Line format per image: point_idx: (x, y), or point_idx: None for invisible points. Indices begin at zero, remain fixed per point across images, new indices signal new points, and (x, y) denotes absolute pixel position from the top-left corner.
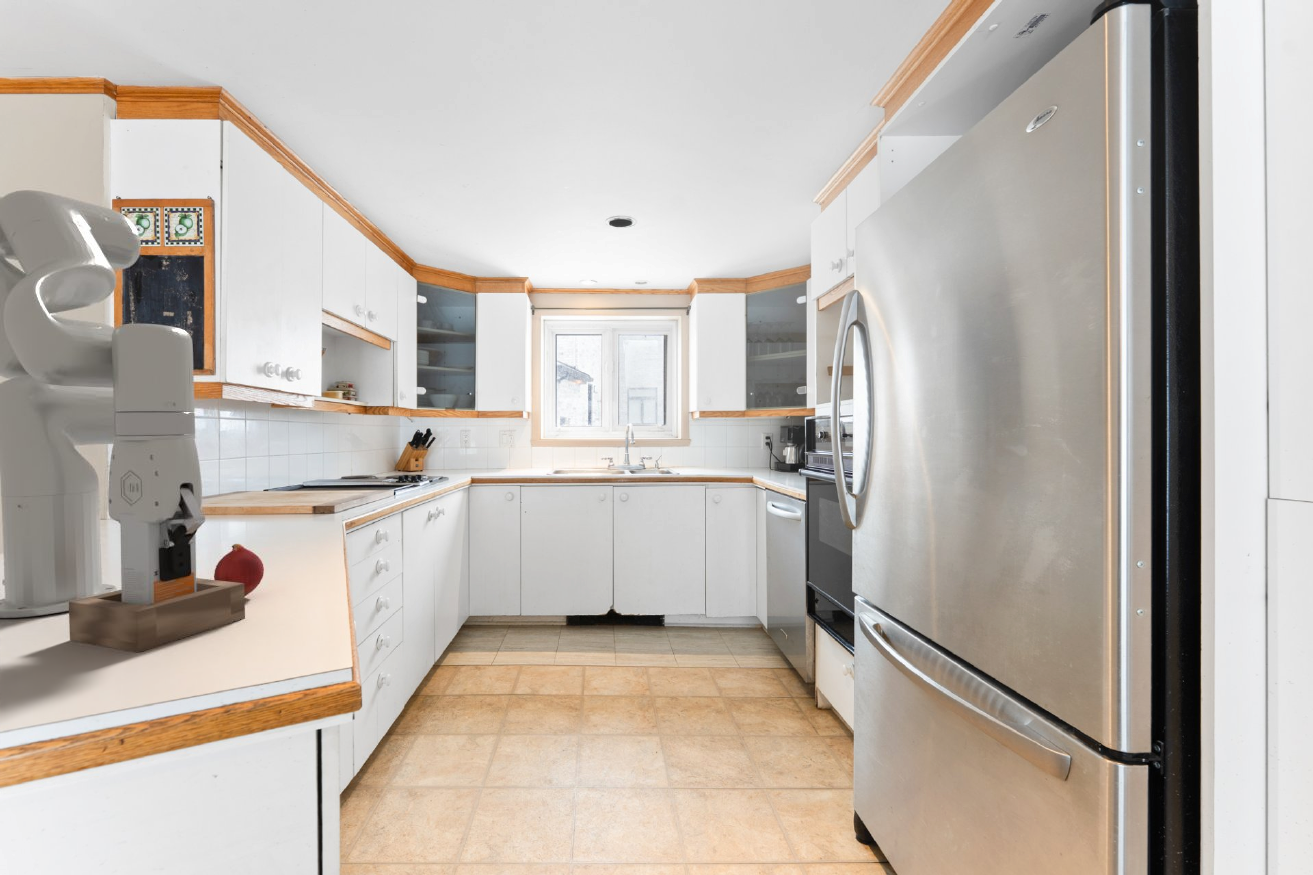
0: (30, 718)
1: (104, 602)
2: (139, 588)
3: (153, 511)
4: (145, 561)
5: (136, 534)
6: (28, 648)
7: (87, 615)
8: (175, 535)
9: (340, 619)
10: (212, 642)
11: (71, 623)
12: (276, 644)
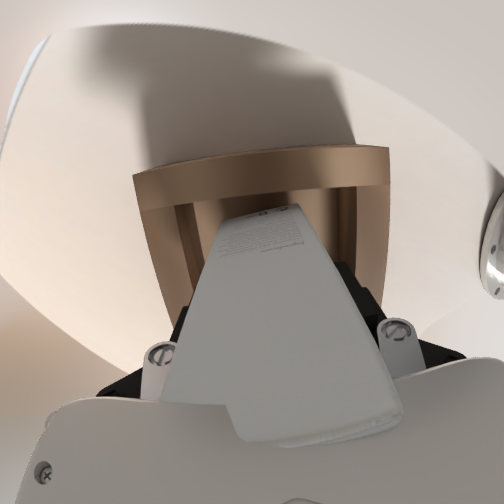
0: (59, 41)
1: (301, 174)
2: (241, 233)
3: (72, 442)
4: (208, 276)
5: (243, 339)
6: (371, 99)
7: (315, 147)
8: (138, 387)
9: (95, 352)
10: (119, 244)
11: (362, 145)
12: (58, 273)
